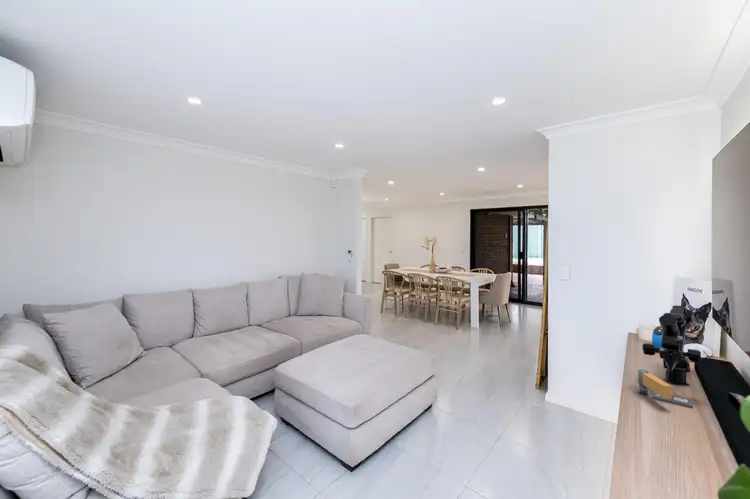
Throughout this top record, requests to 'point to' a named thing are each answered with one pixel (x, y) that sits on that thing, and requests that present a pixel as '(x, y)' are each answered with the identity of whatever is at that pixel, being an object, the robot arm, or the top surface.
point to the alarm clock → (657, 337)
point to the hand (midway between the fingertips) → (670, 370)
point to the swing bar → (654, 384)
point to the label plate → (674, 400)
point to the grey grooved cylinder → (643, 390)
